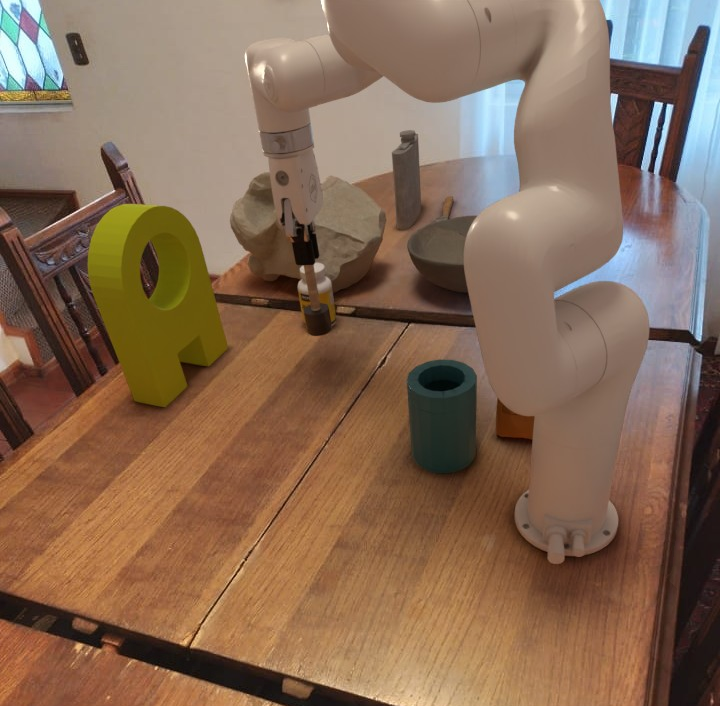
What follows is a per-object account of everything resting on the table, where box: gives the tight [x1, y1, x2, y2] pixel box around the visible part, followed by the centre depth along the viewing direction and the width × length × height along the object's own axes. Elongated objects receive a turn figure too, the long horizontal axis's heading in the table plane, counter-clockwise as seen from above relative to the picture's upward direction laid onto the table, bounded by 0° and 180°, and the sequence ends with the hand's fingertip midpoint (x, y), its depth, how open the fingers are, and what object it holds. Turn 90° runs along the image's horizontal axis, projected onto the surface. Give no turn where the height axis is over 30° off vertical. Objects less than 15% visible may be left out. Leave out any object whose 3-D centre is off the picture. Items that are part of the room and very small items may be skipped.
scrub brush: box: [298, 227, 333, 337], centre depth 112 cm, size 4×4×18 cm
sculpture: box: [229, 171, 387, 294], centre depth 144 cm, size 26×27×30 cm
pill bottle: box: [297, 263, 337, 327], centre depth 129 cm, size 6×6×12 cm
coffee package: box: [495, 396, 535, 441], centre depth 95 cm, size 10×12×22 cm
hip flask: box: [391, 129, 422, 231], centre depth 163 cm, size 16×4×20 cm, turn 164°
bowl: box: [406, 215, 478, 294], centre depth 136 cm, size 26×26×10 cm
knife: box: [435, 195, 454, 222], centre depth 164 cm, size 31×1×3 cm
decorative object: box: [87, 203, 229, 408], centre depth 114 cm, size 20×7×30 cm, turn 155°
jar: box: [406, 359, 478, 474], centre depth 95 cm, size 9×9×13 cm
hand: (307, 260), depth 110 cm, fingers closed on scrub brush
